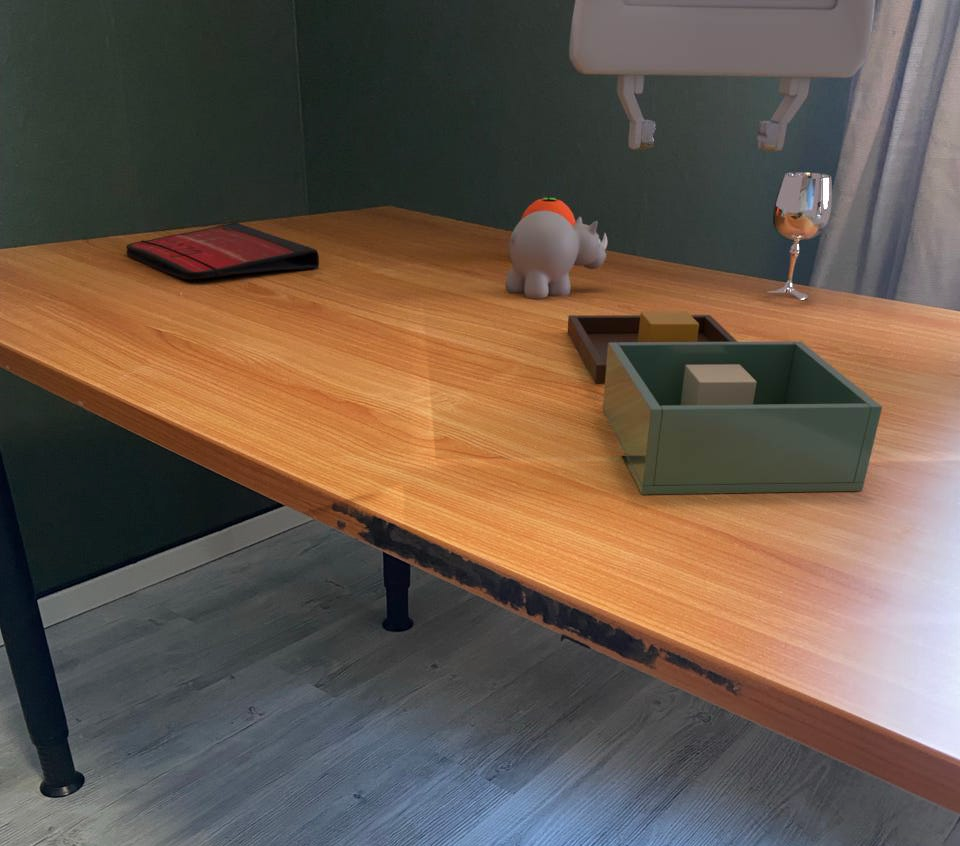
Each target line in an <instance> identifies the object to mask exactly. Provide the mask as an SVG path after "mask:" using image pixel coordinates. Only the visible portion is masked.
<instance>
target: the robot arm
mask: <svg viewBox="0 0 960 846" xmlns="http://www.w3.org/2000/svg"><path fill="white" fill-rule="evenodd" d="M875 10H876V0H575V2H574V7H573V13H572V20H571V28H570V34H569V45H568V46H569V47H568V57H569V60H570V63H571V64H572V65H573V67H574V68H575V69H576V71H577V72H578V73H581V74H584V75H617V84H616V93H617V95H618V98H619V100H620V103H621V105H622V108H623V110H624V113H625V114H626V117H627V119H628V120H629V129H628V141H627V143H628V148H629V149H630V150H653V148H654V144H655V138H654V137H653V136H654V135H655V133H656V132H655V131H656V123H657V122H656V121H654V120H651V119H645V118H644V116H643V113H642V111H641V108H640V106H639V103H638V101H637V98H636V95H641V94H642V93H643V92H644V83H645V76H704V77H707V76H708V77H770V78H771V77H773V78H774V77H775V78H777V77H779V78H780V80H779V87H778V93H779V94H780V95H784V98H782V101H781V102H780V104H779V105H778V107H777V108H776V110H775V112H774V113H773V115H772V117H771V118H770V120H758V127H757V132H758V136H757V137H756V140H755V141H756V142H755V148H756V150H760V151H782V150H783V148H784V146H785V140H786V139H785V138H786V133H787V126H788V124H790V122H791V121H792V119H793V118H794V117H795V115H796V114H797V112H798V111H799V110H800V108H801V106H802V105H803V103H804V102H805V101H806V99H807V98H808V96H809V89H810V84H811V78H845V79H846V78H849V79H850V78H852V77H853V76H855V75H856V73H857V72H858V71H859V70H860V68H861V67H862V66H863V65H864V63H865V62H866V60H867V57H868V54H869V48H870V45H871V39H872V32H873V25H874V19H875ZM635 94H636V95H635Z"/></svg>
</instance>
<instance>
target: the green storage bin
mask: <svg viewBox="0 0 960 846" xmlns="http://www.w3.org/2000/svg"><path fill="white" fill-rule="evenodd" d="M721 364H739V365H741V366H742V367H743V368H744V369H745V370H746V371H747V372H748V373H749V375H750V376H751V377H752V378H753V379H754V380H755V381H756V388H755V394H754V400H753V405H681V397H682V389H683V381H684V373H685V366H686V365H721ZM882 409H883V406H882V405H881V404H880V403H878V402H877V401H876V400H874V398H872V397H871V396H869V394H867V393H866V392H865V391H864V390H862V389H861V388H860V387H858V386H857V385H856V384H855V383H853V382H852V381H851V380H850V379H848V378H847V377H846V376H845V375H844V374H842V373H841V372H840V371H839V370H838V369H836V368H835V366H833V365H831V364H830V363H829V362H828V361H826V359H824V358H823V357H821V356H820V355H819V354H818V353H817V352H815V351H814V350H813V349H812V348H810V347H809V346H808V345H806V344H805V342H803V341H801V340H798V341H797V340H795V341H787V340H786V341H782V340H781V341H738V342H619V343H617V342H609V343H608V351H607V363H606V375H605V384H604V388H603V400H602V412H603V414H604V416H605V418H606V419H607V422H608V424H609V425H610V427H611V429H612V431H613V433H614V435H615V436H616V439H617V441H618V442H619V445H620V446H621V448H622V451H623V452H624V454H625V455H622V457H621V458H622V459H623V460H624V463H625V465H626V467H627V468H628V471H629V473H630V474H631V476H632V478H633V480H634V481H635V484H636V486H637V489H638V490H639V492H640V494H641V495H645V496H646V495H647V496H648V495H698V494H699V495H702V494H704V495H705V494H707V495H708V494H759V493H764V494H765V493H766V494H767V493H817V492H818V493H821V492H822V493H823V492H825V493H826V492H829V493H830V492H862V491H863V490H864V485H865V482H866V477H867V473H868V469H869V465H870V461H871V456H872V452H873V447H874V444H875V439H876V435H877V431H878V426H879V422H880V418H881V414H882V411H883V410H882Z"/></svg>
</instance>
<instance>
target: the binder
mask: <svg viewBox="0 0 960 846" xmlns="http://www.w3.org/2000/svg"><path fill="white" fill-rule="evenodd" d="M125 247H126V254H127V255H128V256H129V257H130V258H133V259H135V260H137V261H138V262H141V263H142V264H144V265H147V266H149V267H151V268H153V269H155V270H158V271H160V272H163V273H165V274H167V275H168V274H169V275H170V276H174V277H177V278H180V279H183V280H188V281H189V280H203V279H204V280H205V279H210V278H211V279H212V278H215V279H218V278H221V277H222V278H223V277H226V276H231V275H232V276H234V275H244V274H253V273H262V272H263V273H264V272H273V271H291V270H293V271H294V270H310V269H317V268H319V266H320V255H319V252H318V250H317V249H315V248H313V247H310V246H307V245H304V244H301V243H297V242H296V241H295V242H294V241H291V240H289V239H285V238H283V237H279V236H276V235H274V234H271V233H267V232H264V231H262V230H259V229H256V228H253V227H250V226H249V225H248V226H247V225H244V224H242V223H239V222H237V221H234V222H230V223H224V224H220V225H217V226H216V225H215V226H212V227H207V228H203V229H198V230H194V231H188V232H183V233H178V234H177V233H176V234H171V235H166V236H162V237H156V238H152V239H147V240H140V241H135V242H131V243H129V244H127V245H126V246H125Z"/></svg>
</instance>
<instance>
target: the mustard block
mask: <svg viewBox="0 0 960 846" xmlns="http://www.w3.org/2000/svg"><path fill="white" fill-rule="evenodd" d="M639 315H640V325H639V335H638V342H697V336H698V329H699V323H698V322H697V321H696V320H695V319H694V318H693V317H692V316H691V315H692V314H690V313H689V312H688V311H684V310H683V311H640V314H639Z"/></svg>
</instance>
